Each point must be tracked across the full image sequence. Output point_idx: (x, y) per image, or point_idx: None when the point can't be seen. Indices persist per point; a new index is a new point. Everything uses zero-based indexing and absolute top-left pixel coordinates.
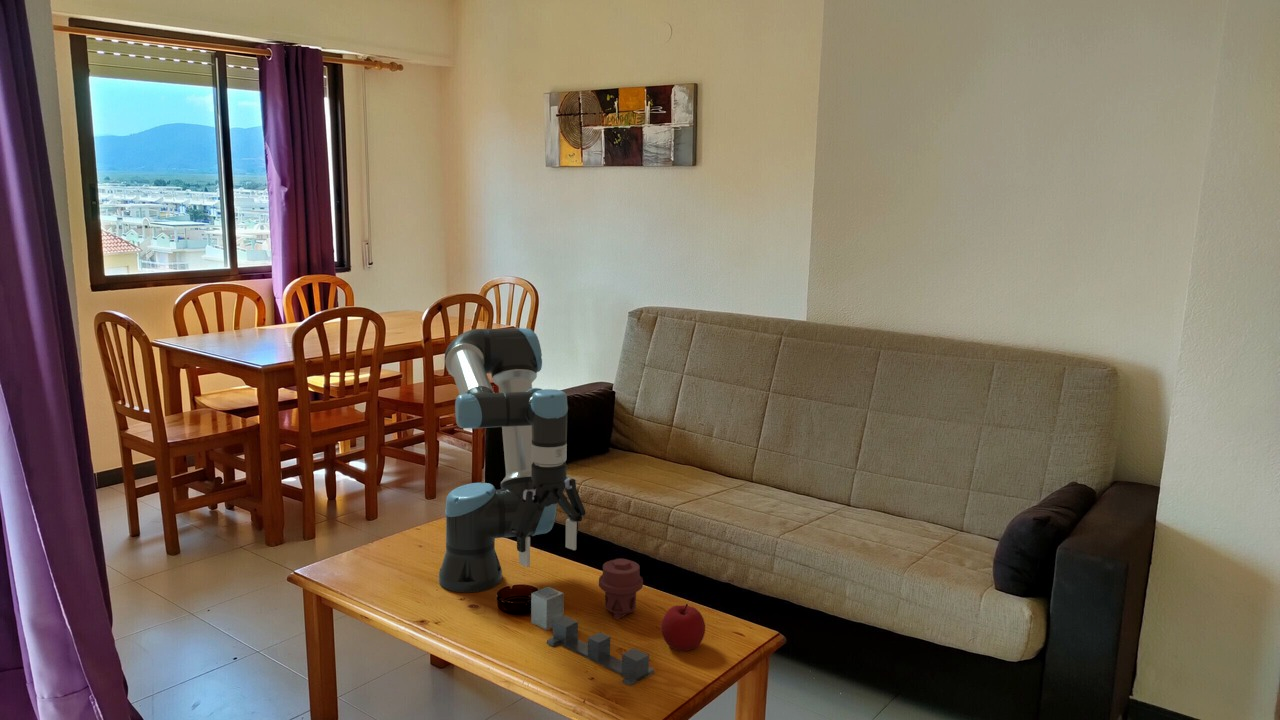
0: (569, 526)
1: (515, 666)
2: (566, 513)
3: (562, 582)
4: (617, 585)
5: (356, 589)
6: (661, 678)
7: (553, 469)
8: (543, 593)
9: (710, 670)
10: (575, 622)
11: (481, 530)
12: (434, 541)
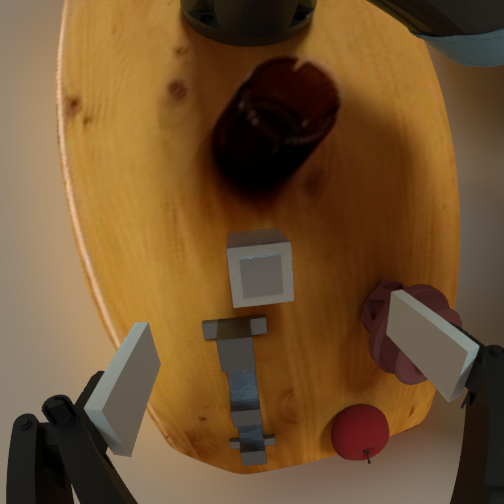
0: (442, 359)
1: None
2: (485, 382)
3: (392, 125)
4: (385, 362)
5: None
6: (272, 448)
7: None
8: (247, 278)
9: (324, 453)
10: (249, 367)
11: None
12: None
